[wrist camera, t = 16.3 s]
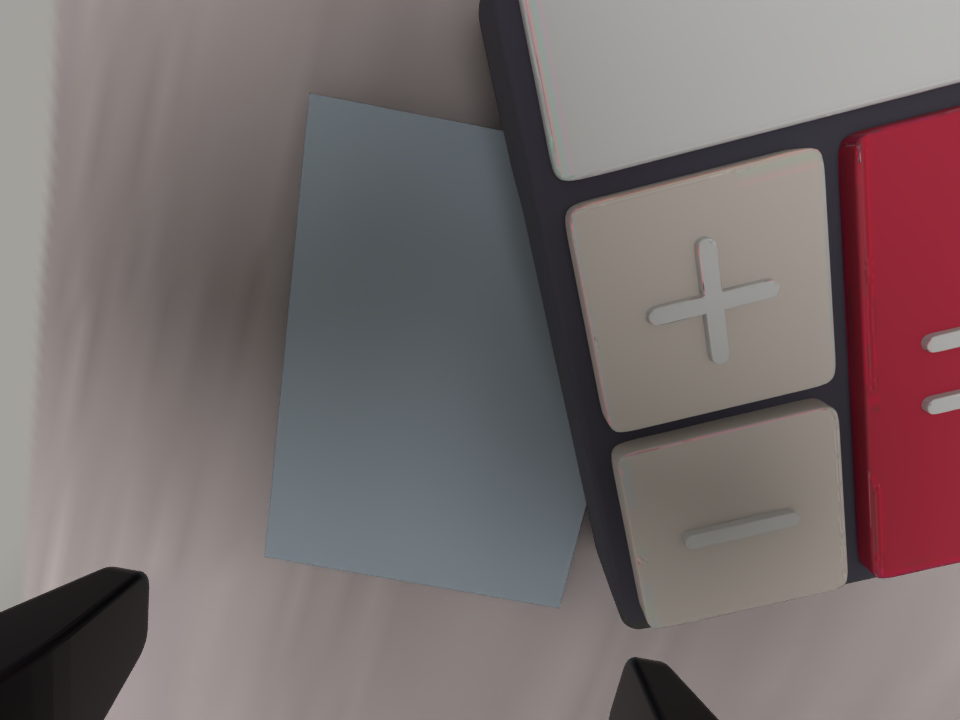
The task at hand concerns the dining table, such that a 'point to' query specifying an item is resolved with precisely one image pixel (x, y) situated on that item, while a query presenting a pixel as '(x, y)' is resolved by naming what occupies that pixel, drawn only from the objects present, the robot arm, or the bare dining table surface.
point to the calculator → (746, 283)
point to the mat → (420, 367)
